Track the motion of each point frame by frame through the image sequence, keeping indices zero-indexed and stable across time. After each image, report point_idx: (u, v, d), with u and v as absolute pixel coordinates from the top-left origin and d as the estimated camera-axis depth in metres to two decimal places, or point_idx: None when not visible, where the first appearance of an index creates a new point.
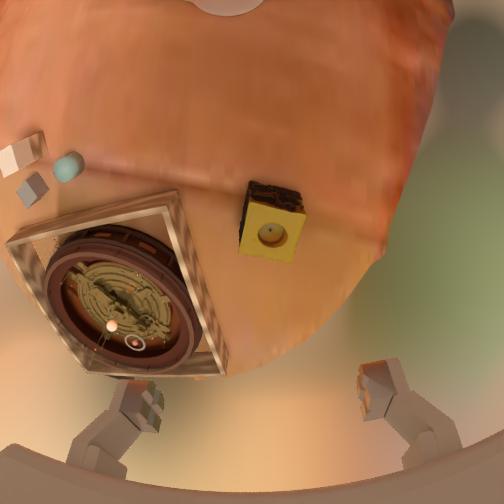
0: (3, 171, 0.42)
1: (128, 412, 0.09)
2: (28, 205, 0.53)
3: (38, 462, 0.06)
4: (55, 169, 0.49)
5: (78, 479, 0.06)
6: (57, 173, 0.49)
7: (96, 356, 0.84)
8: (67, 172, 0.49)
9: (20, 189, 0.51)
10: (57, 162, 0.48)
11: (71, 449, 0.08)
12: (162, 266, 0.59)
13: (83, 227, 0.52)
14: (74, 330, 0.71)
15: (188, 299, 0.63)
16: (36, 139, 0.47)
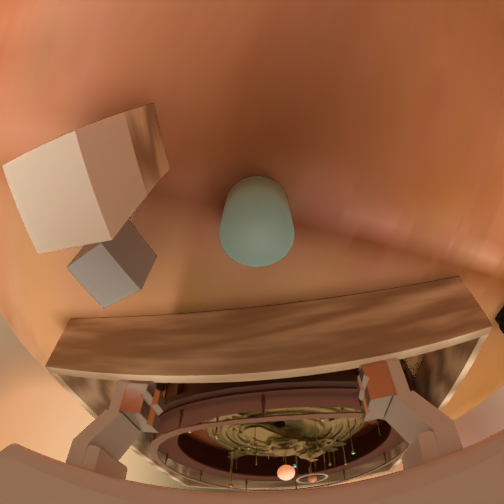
0: (35, 233, 0.13)
1: (128, 412, 0.09)
2: (107, 302, 0.24)
3: (38, 462, 0.06)
4: (228, 227, 0.20)
5: (78, 479, 0.06)
6: (233, 240, 0.20)
7: None
8: (274, 242, 0.20)
9: (81, 263, 0.22)
10: (241, 209, 0.19)
11: (71, 449, 0.08)
12: None
13: (306, 373, 0.23)
14: (187, 461, 0.42)
15: None
16: (143, 124, 0.18)
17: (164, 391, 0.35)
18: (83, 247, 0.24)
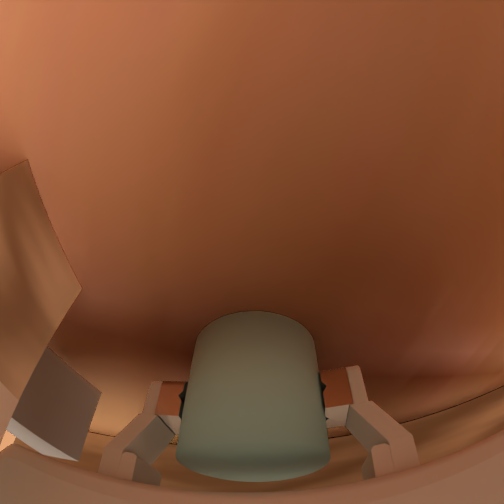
0: None
1: (165, 415, 0.09)
2: (44, 453, 0.12)
3: (38, 462, 0.06)
4: (193, 457, 0.08)
5: (78, 479, 0.06)
6: (207, 466, 0.08)
7: None
8: (287, 468, 0.08)
9: None
10: (217, 445, 0.07)
11: (103, 457, 0.07)
12: None
13: None
14: None
15: None
16: None
17: None
18: None
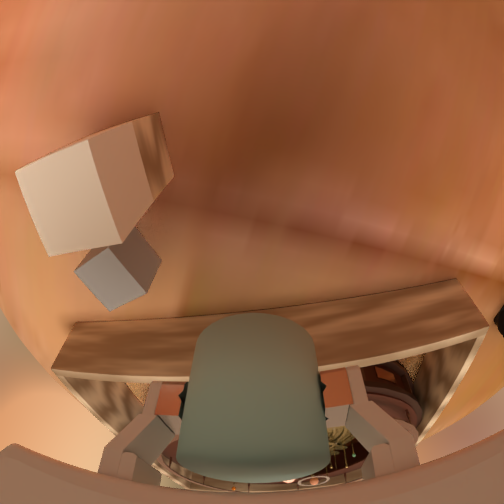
0: (47, 236, 0.14)
1: (165, 415, 0.09)
2: (113, 305, 0.25)
3: (38, 462, 0.06)
4: (193, 458, 0.08)
5: (78, 479, 0.06)
6: (207, 467, 0.08)
7: None
8: (287, 470, 0.08)
9: (88, 267, 0.23)
10: (217, 447, 0.07)
11: (103, 457, 0.07)
12: (411, 401, 0.31)
13: None
14: None
15: (415, 425, 0.35)
16: (149, 133, 0.19)
17: None
18: (90, 252, 0.25)
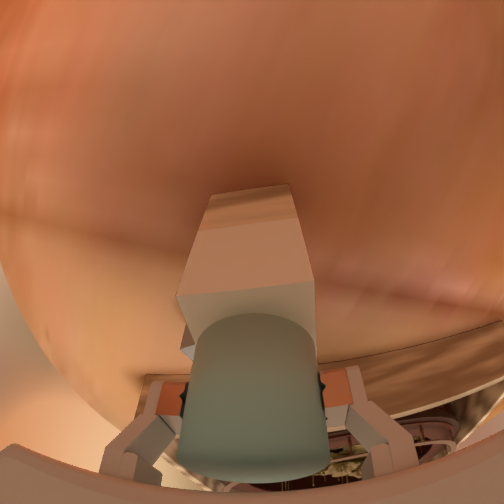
0: None
1: (166, 415, 0.09)
2: None
3: (38, 462, 0.06)
4: (194, 459, 0.08)
5: (78, 479, 0.06)
6: (208, 468, 0.08)
7: None
8: (288, 470, 0.08)
9: None
10: (218, 447, 0.07)
11: (104, 458, 0.07)
12: (455, 422, 0.31)
13: (397, 417, 0.24)
14: (245, 488, 0.43)
15: (451, 439, 0.35)
16: None
17: None
18: None
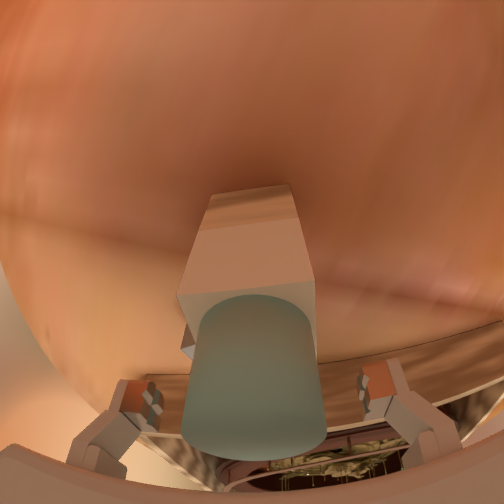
0: None
1: (128, 412, 0.09)
2: None
3: (38, 462, 0.06)
4: (197, 431, 0.09)
5: (78, 479, 0.06)
6: (210, 442, 0.09)
7: None
8: (287, 444, 0.09)
9: None
10: (220, 416, 0.08)
11: (71, 449, 0.08)
12: None
13: None
14: (245, 488, 0.43)
15: None
16: None
17: None
18: None
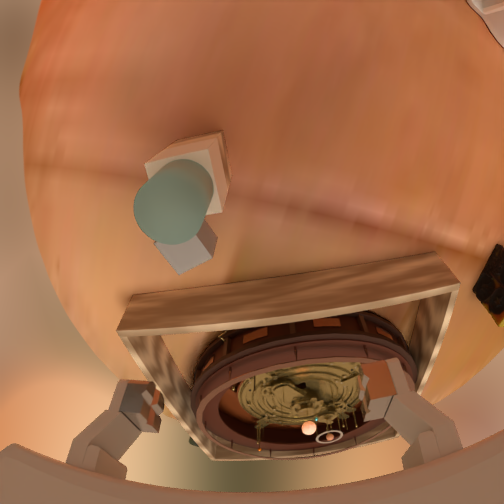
0: None
1: (128, 412, 0.09)
2: (183, 269, 0.36)
3: (38, 462, 0.06)
4: (141, 205, 0.20)
5: (78, 479, 0.06)
6: (147, 217, 0.20)
7: None
8: (184, 218, 0.20)
9: None
10: (150, 186, 0.19)
11: (71, 449, 0.08)
12: (406, 355, 0.42)
13: (327, 315, 0.35)
14: (221, 429, 0.53)
15: (412, 382, 0.45)
16: (222, 145, 0.30)
17: (212, 357, 0.47)
18: None
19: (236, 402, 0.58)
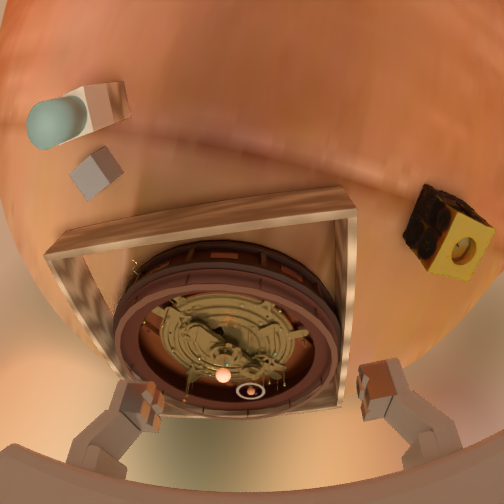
0: None
1: (128, 412, 0.09)
2: (90, 196, 0.38)
3: (38, 462, 0.06)
4: (30, 123, 0.22)
5: (78, 479, 0.06)
6: (33, 131, 0.22)
7: None
8: (52, 128, 0.22)
9: (77, 170, 0.36)
10: (34, 109, 0.21)
11: (71, 449, 0.08)
12: (317, 298, 0.44)
13: (205, 234, 0.37)
14: (149, 376, 0.57)
15: (336, 336, 0.48)
16: (116, 90, 0.32)
17: None
18: None
19: (166, 350, 0.61)
